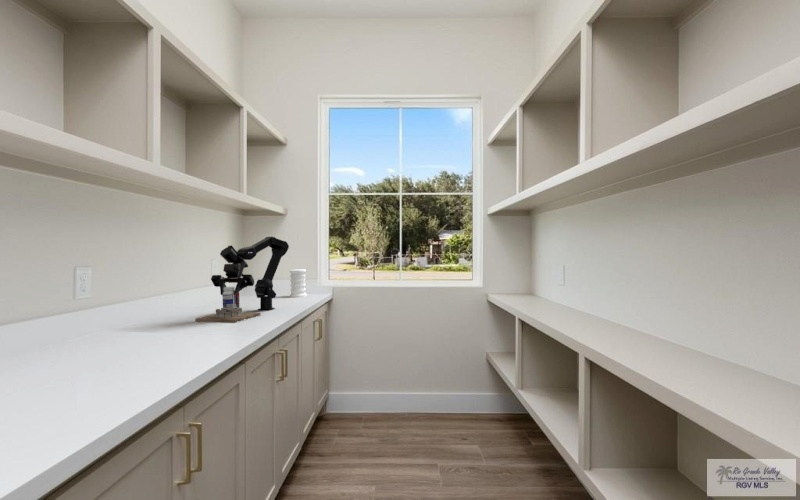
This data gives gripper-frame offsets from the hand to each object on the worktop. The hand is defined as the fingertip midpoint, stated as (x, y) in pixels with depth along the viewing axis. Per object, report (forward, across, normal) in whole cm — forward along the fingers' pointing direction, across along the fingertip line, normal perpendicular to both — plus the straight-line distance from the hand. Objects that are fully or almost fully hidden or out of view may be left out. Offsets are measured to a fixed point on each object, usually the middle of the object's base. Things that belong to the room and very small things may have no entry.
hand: (227, 294), depth 193 cm
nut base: (+7, 0, +9) cm, 11 cm away
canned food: (-5, -7, +22) cm, 23 cm away
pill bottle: (+4, 0, +6) cm, 7 cm away
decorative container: (-57, +8, +75) cm, 95 cm away
